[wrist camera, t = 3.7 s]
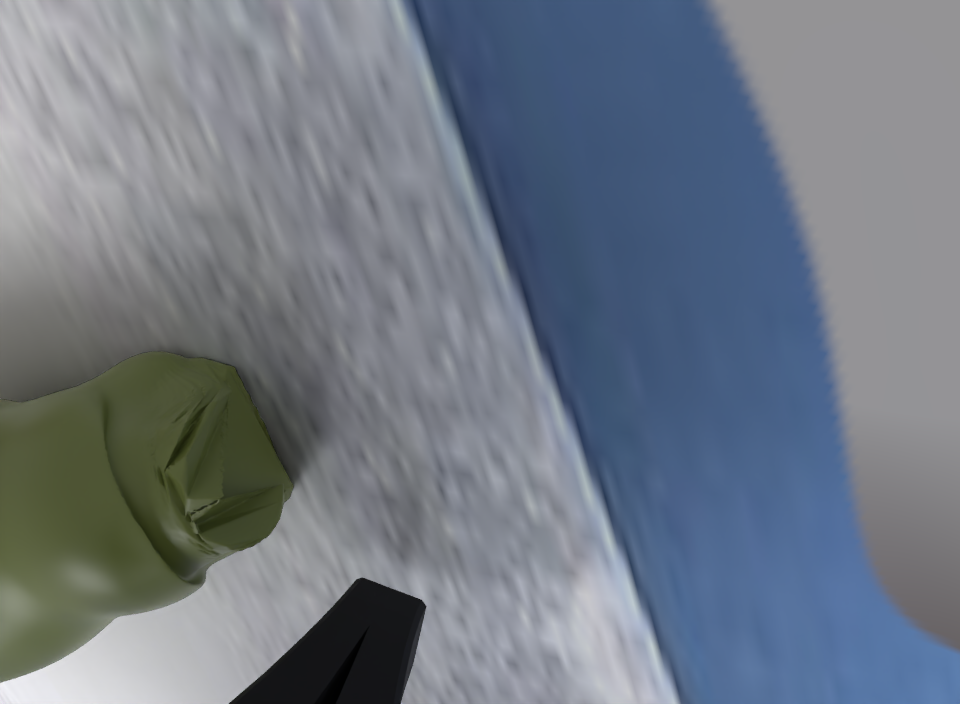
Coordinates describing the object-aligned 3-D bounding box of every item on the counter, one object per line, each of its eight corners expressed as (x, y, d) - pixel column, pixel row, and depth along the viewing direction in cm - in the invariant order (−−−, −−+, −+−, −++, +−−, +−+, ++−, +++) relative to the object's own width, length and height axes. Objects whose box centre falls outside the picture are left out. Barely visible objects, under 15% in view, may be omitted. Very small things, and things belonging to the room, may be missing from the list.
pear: (-440, 546, 9) (53, 381, 7) (-90, 398, 14) (260, 275, 12) (-191, 778, 11) (262, 705, 9) (40, 573, 16) (365, 495, 13)
